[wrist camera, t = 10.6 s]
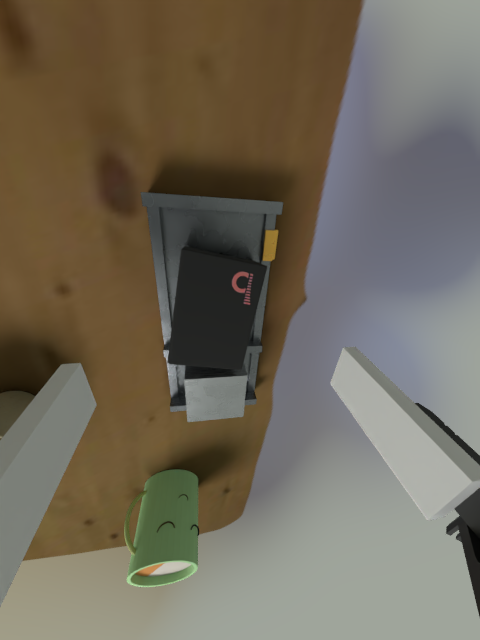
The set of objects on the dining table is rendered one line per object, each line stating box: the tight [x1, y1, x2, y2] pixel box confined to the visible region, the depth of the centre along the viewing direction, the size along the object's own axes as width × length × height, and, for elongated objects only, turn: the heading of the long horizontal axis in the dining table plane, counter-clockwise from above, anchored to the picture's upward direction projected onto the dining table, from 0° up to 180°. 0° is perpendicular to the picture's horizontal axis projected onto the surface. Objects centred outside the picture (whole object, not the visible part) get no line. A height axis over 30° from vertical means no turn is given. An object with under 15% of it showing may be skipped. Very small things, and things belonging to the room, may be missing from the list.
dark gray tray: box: [141, 192, 283, 422], centre depth 24 cm, size 26×12×6 cm, turn 176°
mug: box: [124, 469, 199, 587], centre depth 37 cm, size 13×10×12 cm
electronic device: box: [168, 246, 267, 370], centre depth 22 cm, size 7×11×5 cm
